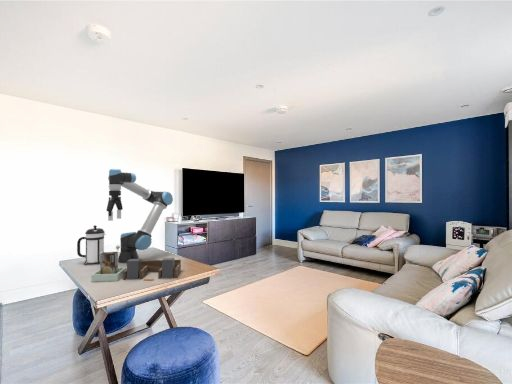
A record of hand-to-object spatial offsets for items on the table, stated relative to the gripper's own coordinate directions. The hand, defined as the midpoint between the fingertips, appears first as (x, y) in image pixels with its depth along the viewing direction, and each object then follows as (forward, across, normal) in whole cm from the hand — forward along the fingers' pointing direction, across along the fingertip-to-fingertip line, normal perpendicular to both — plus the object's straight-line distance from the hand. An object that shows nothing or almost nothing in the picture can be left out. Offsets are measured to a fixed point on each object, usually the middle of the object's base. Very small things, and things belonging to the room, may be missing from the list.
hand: (114, 219), depth 180 cm
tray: (+37, +17, +4) cm, 41 cm away
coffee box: (+36, +17, +4) cm, 40 cm away
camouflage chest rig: (+37, +16, +31) cm, 51 cm away
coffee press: (+37, -20, -25) cm, 49 cm away
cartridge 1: (+37, +19, +20) cm, 46 cm away
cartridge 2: (+37, +19, +42) cm, 59 cm away
